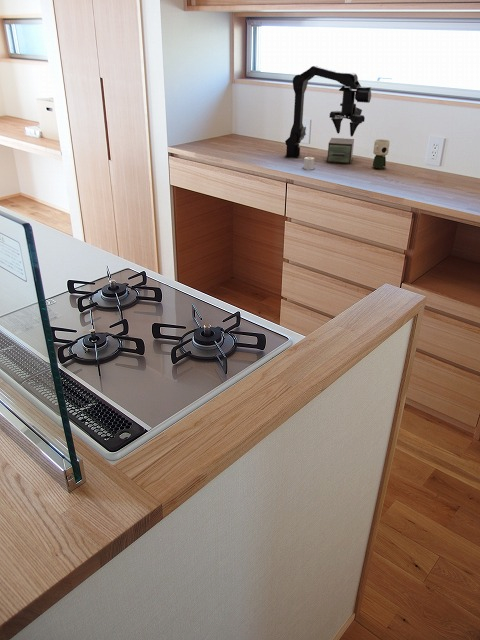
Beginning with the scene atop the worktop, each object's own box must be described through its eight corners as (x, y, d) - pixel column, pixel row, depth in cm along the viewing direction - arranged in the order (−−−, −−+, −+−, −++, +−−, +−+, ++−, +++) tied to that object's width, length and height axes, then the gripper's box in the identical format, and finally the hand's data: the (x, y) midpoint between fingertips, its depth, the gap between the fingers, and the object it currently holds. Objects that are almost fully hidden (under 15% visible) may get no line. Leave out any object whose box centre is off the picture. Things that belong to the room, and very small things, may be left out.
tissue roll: (303, 169, 262) (303, 158, 260) (304, 167, 266) (305, 156, 264) (312, 170, 261) (313, 159, 259) (314, 167, 265) (315, 157, 263)
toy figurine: (378, 171, 260) (381, 143, 253) (365, 168, 264) (369, 141, 258) (391, 167, 266) (395, 140, 260) (379, 165, 271) (382, 138, 264)
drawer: (348, 164, 267) (349, 148, 263) (327, 163, 269) (328, 147, 266) (350, 157, 282) (352, 141, 278) (330, 155, 284) (332, 140, 280)
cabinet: (350, 163, 272) (352, 144, 268) (327, 162, 275) (328, 142, 270) (352, 157, 284) (354, 139, 279) (329, 156, 286) (331, 137, 282)
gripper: (374, 102, 259) (370, 136, 267) (346, 98, 273) (343, 130, 280) (358, 104, 254) (354, 138, 261) (330, 99, 267) (327, 132, 275)
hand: (344, 134), depth 270 cm, fingers open, 9 cm apart
